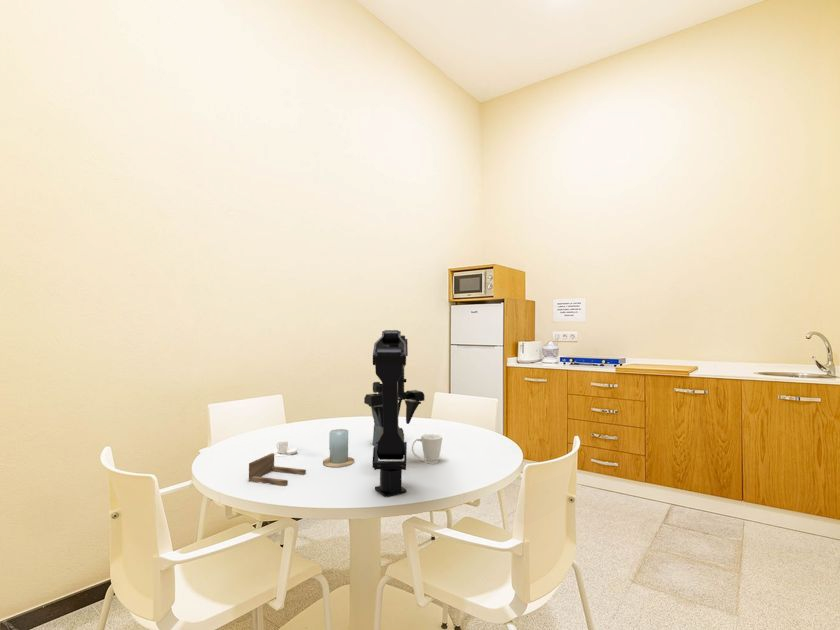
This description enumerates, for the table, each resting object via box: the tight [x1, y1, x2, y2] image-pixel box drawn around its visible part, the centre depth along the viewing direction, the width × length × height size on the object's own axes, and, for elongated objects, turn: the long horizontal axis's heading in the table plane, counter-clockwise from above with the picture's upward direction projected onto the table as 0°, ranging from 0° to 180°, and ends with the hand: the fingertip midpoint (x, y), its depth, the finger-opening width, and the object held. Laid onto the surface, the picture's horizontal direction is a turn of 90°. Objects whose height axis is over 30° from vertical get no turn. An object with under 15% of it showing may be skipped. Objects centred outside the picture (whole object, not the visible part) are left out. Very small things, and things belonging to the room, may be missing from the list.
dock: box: [248, 452, 307, 487], centre depth 122 cm, size 12×10×5 cm
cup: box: [411, 433, 443, 464], centre depth 137 cm, size 7×10×8 cm
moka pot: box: [370, 400, 403, 447], centre depth 159 cm, size 10×15×20 cm, turn 135°
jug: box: [328, 428, 349, 464], centre depth 137 cm, size 9×6×10 cm, turn 38°
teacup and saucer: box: [271, 440, 299, 457], centre depth 146 cm, size 9×8×4 cm
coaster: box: [322, 456, 355, 468], centre depth 136 cm, size 10×10×1 cm
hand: (394, 425), depth 131 cm, fingers open, 9 cm apart
